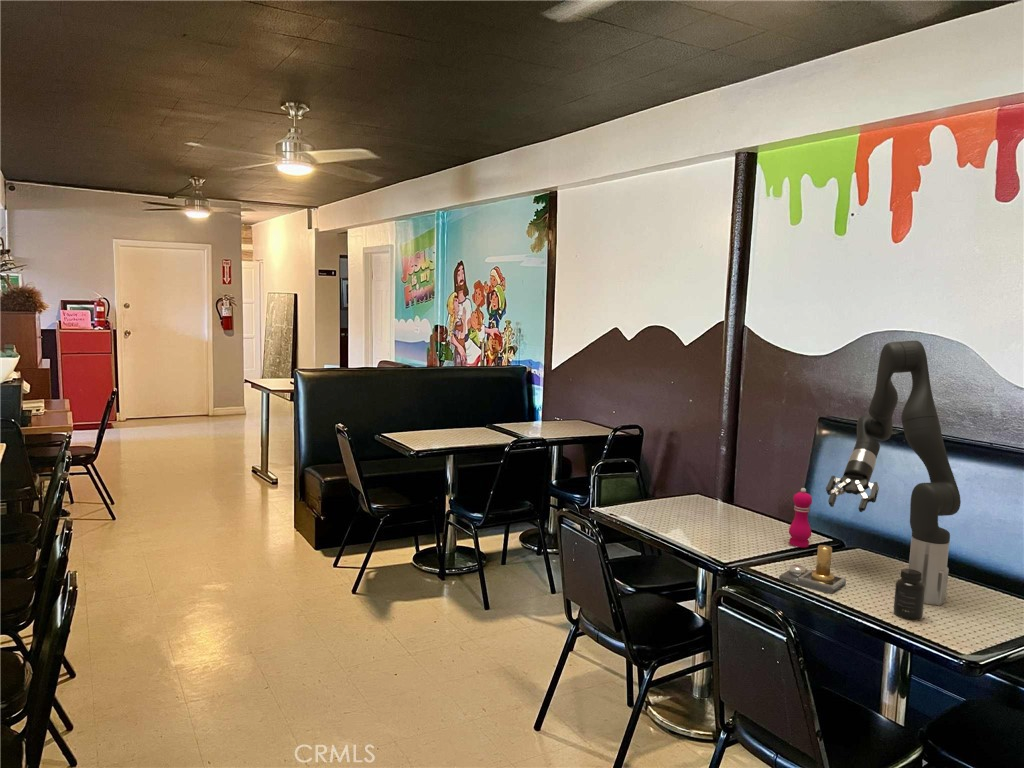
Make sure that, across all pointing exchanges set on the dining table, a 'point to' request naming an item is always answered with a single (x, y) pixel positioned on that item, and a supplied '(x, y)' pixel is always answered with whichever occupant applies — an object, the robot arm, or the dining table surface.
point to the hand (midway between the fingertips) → (845, 507)
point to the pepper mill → (801, 520)
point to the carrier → (803, 578)
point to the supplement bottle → (909, 595)
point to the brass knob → (823, 565)
